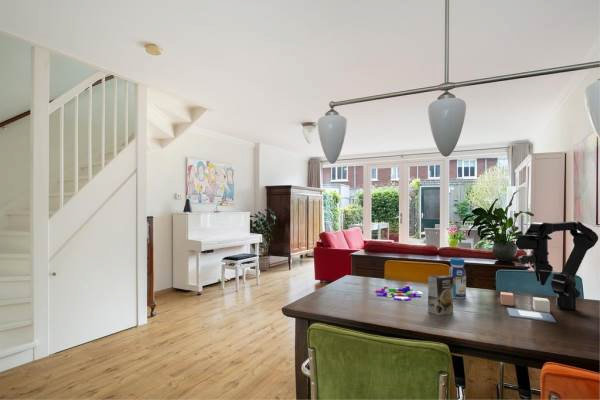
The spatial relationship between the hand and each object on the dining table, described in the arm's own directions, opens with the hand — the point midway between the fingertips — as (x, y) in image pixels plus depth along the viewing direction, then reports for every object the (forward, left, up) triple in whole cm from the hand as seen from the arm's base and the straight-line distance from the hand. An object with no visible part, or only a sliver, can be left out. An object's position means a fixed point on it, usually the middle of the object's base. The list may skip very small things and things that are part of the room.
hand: (540, 283), depth 151 cm
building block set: (+62, +5, -13) cm, 64 cm away
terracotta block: (+13, -4, -12) cm, 18 cm away
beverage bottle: (+35, -6, -12) cm, 38 cm away
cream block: (0, 0, -12) cm, 12 cm away
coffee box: (+41, +26, -13) cm, 50 cm away
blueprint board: (+6, +12, -12) cm, 18 cm away
